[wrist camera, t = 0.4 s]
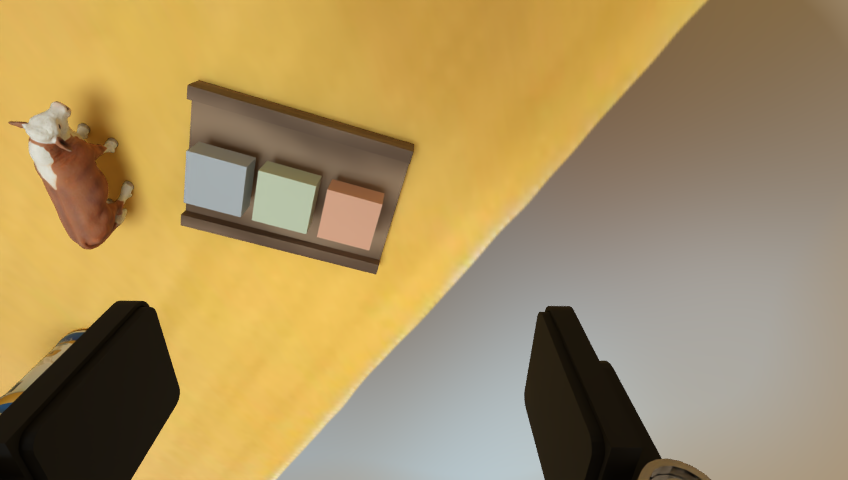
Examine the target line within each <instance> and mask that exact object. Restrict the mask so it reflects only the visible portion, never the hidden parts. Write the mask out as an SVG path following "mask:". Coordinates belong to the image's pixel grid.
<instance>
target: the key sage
mask: <svg viewBox="0 0 848 480" xmlns="http://www.w3.org/2000/svg"><path fill="white" fill-rule="evenodd" d="M321 177H322V176H320V175H317V174H313V173H309V172H306V171H302V170H299V169H295V168H291V167H288V166H284V165H281V164H277V163H274V162H270V161H267V162H266V163H265V164H264V165H263V166H262V167H261V168H260V169H259V170H258V178H257V185H256V193H255V200H254V207H253V215H252V220H253V221H257V222H261V223H265V224H268V225H272V226H276V227H280V228H284V229H288V230H292V231H295V232H299V233H303V234H307V232H308V230H309V227H310V225H311V223H312V220H313V215H314V210H315V206H316V201H317V196H318V191H319V186H320V182H321Z"/></svg>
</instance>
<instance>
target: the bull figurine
mask: <svg viewBox="0 0 848 480" xmlns="http://www.w3.org/2000/svg"><path fill="white" fill-rule="evenodd" d="M70 115H71V110H70V108H69V107H67V106H66V105H64V104H63V103H61V102H57V101H56V102H52V103H51V106H50V108H49V109H48V110H47V111H45V112H42V113H40V114H38V115H35V116H34V117H31V118H30V120H29V123H26V122H13V121H12V122H8V123H9V124H11V125H15V126H17V127H20V128H24V129H25V130H26V133H27V134H28V135H29V136H30V138H29V153H30V156H31V157H32V159H33V161H34V165H35V168H36V170H37V172H38V174H39V176H40V177H41V178H42V180H43V183H44V185H45V187H46V189H47V192H48V194H49V196H50V198H51V200H52V202H53V204H54V206H55V208H56V210H57V213H58V215H59V218H60V220H61V222H62V224H63V226H64V228H65V230H66V232H67V233H68V235H69V236H70V238H71V239H72V240H73V241H74V242H76V243H78V244H79V246H81V247H82V248H84V249H93V248H96V247H98V246H99V245H101V244H102V243H103V242H104V241H105V240H106V239H107V238H108V237H109V236H110V235H111V233H112V232H113V231H114V230H115V229H116V228H117V227H118V226H119V225H120V224H121V223H122V222H123V221H124V219H125V217H126V213H127V209H126V208H124V209H123V206H124V203H125V201H126V200H127V199H128V198H129V197H131V196H132V194H131V191H132V190H133V189H134V186H133V184H132V183H131V182H128V181H125V182H124V183H123V186H122V189H121V194H120V196H119V198H118V199H117V200H116V201H115V202H113V200H111V199H107V198H108V191H109V190H108V183H107V180H106V178H105V176H104V175H103V173H102V172H101V171H100V170H99V168H98V167H97V165H96V162H95V160H96V159H97V158H98V157H99V156H101V155H102V154H103V153H105V152H111V153H114V152H115V148H116V147H117V146H118V143H117V141H116V140H115V139H113V138H109V139H108V140H107V141H106V143H105V145H104V146H102V145H100V144H97V145H94V144H90V143H87V142H85V140H84V139H87V138H88V136H87V135H88V133H89V132H90V129H89V127H88V126H87V125H86V124H83V123H81V124H79V125H78V129H77V132H75V131H73V130H72V129H71V128H70V127H69V125H68V121H67V118H68V117H69V116H70Z"/></svg>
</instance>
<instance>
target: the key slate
mask: <svg viewBox="0 0 848 480" xmlns="http://www.w3.org/2000/svg"><path fill="white" fill-rule="evenodd" d="M255 163H256V157H252V156H249V155H245V154H241V153H238V152H234V151H231V150H227V149H223V148H220V147H216V146H213V145H209V144H206V143H202V142H198V143H197V144H195V145H194V146H193V147H191V148H190V149H188V150H187V152H186V171H185V190H184V203H187V204H191V205H195V206H199V207H203V208H207V209H211V210H214V211H218V212H222V213H226V214H230V215H234V216H238V217H241V216H242V215H243V214H244V212H245V211H246V210H247V209H248V207H249V206H250V201H251V193H252V186H253V178H254V170H255Z"/></svg>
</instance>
